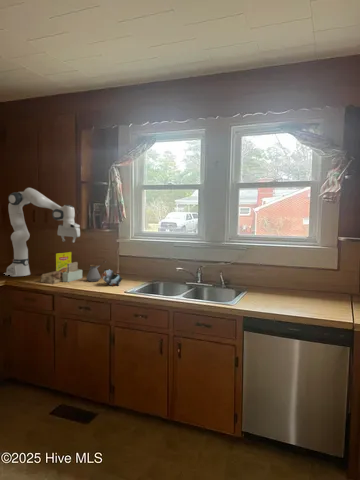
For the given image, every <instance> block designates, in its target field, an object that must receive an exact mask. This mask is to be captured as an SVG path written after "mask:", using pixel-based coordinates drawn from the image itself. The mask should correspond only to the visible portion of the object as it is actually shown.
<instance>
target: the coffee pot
mask: <svg viewBox="0 0 360 480" xmlns="http://www.w3.org/2000/svg"><path fill="white" fill-rule="evenodd" d="M104 263H107V260H103V262H100V264H99V265H97V264H90V265H89V267H90V268H89V271H88V273H87V275H86V280H87V281H88V282H91V283H93V282H96V283H97V282H99V281H100V279H101V277H102V275H100V273H99V270H98V268H99V267H100V266H102V265H103V264H104Z"/></svg>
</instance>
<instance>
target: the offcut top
mask: <svg viewBox="0 0 360 480" xmlns="http://www.w3.org/2000/svg"><path fill="white" fill-rule="evenodd" d="M53 272H54V271H53ZM61 276H62V271H56V270H55V272H54V273H53V277H55V278H60V277H61Z"/></svg>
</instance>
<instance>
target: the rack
mask: <svg viewBox="0 0 360 480" xmlns="http://www.w3.org/2000/svg"><path fill="white" fill-rule="evenodd" d="M55 271H56V270H55ZM55 271H51V272H46V273H42V274H41V275H40V283H44V282H45V284H58V283H61V282H63V277H61V278H57V279H55V277H53V273H54V272H55ZM62 275H63V273H62Z"/></svg>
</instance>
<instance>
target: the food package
mask: <svg viewBox="0 0 360 480" xmlns="http://www.w3.org/2000/svg"><path fill="white" fill-rule="evenodd" d="M69 263H72V251H69V252H59V253H55V271H62V273H64V272H67V264H69Z"/></svg>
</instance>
